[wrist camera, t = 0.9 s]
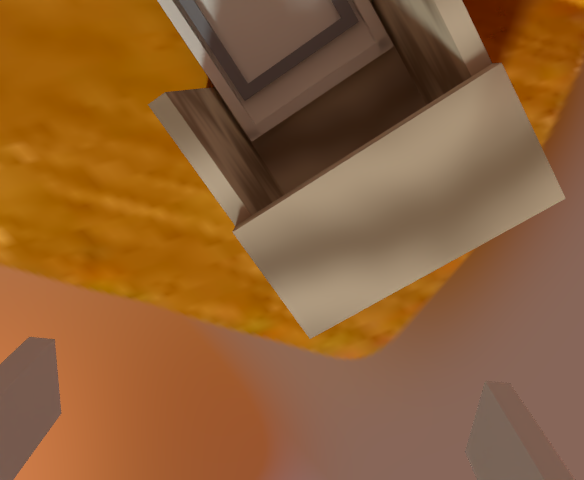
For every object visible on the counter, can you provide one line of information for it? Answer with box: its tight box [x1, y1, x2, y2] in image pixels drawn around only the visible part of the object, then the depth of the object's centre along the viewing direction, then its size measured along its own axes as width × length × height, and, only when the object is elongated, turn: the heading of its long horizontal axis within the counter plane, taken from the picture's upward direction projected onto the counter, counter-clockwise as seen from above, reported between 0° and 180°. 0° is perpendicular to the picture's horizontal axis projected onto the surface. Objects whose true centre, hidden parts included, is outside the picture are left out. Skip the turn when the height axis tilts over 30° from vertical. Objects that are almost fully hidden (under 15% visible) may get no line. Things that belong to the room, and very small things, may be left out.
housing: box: [148, 0, 565, 339], centre depth 27 cm, size 14×14×14 cm
